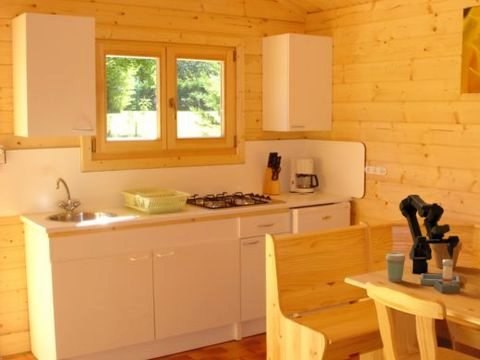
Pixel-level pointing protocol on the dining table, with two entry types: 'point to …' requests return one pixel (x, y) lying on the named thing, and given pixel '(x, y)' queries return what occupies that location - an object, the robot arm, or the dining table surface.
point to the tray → (435, 279)
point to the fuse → (447, 272)
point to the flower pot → (445, 253)
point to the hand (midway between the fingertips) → (441, 258)
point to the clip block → (446, 287)
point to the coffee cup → (395, 266)
